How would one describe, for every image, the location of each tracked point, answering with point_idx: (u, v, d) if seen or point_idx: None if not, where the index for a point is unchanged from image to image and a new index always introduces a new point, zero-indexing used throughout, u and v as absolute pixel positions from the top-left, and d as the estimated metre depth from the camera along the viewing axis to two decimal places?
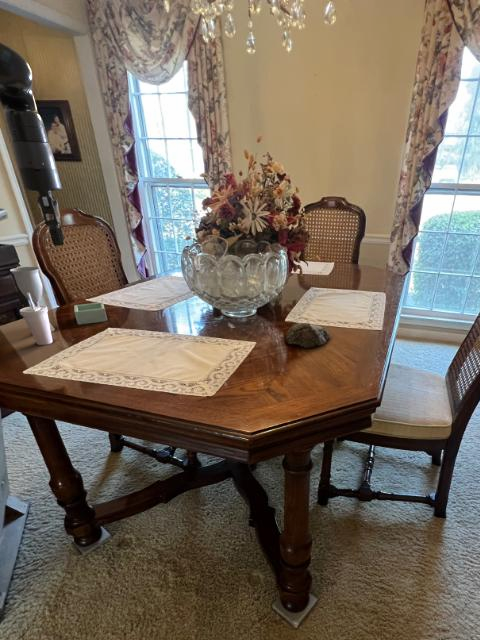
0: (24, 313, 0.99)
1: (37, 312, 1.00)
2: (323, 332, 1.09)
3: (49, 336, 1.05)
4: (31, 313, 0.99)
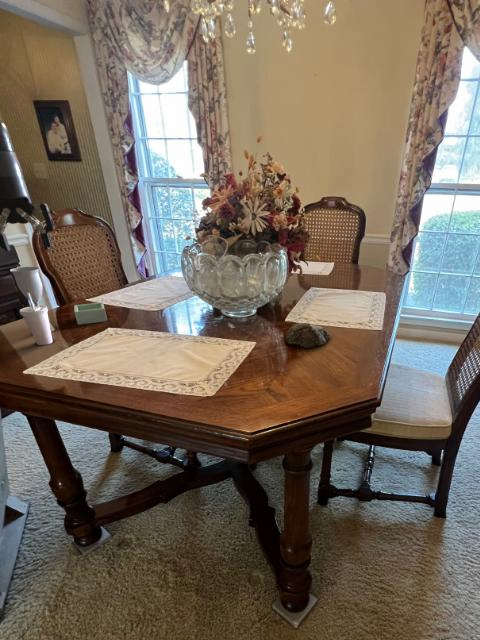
0: (24, 313, 0.99)
1: (37, 312, 1.00)
2: (323, 332, 1.09)
3: (49, 336, 1.05)
4: (31, 313, 0.99)
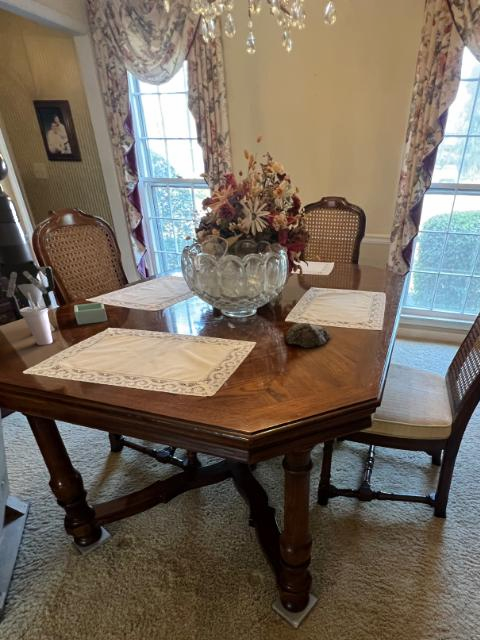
0: (24, 313, 0.99)
1: (37, 312, 1.00)
2: (323, 332, 1.09)
3: (49, 336, 1.05)
4: (31, 313, 0.99)
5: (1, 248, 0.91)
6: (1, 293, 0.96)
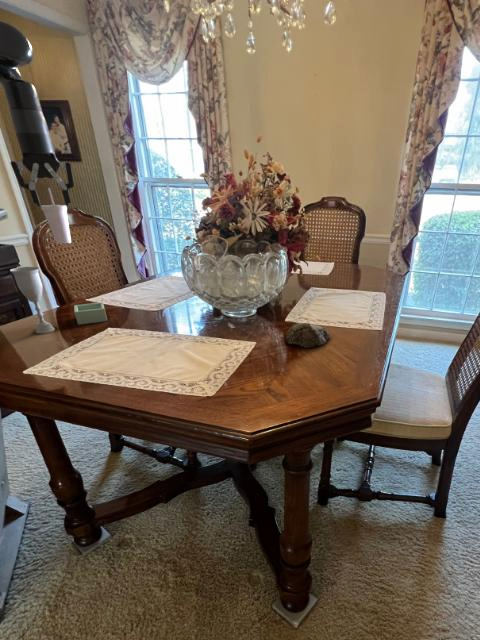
0: (45, 207, 1.03)
1: (57, 207, 1.04)
2: (323, 332, 1.09)
3: (68, 235, 1.09)
4: (52, 207, 1.03)
5: (24, 135, 0.94)
6: (23, 185, 1.00)
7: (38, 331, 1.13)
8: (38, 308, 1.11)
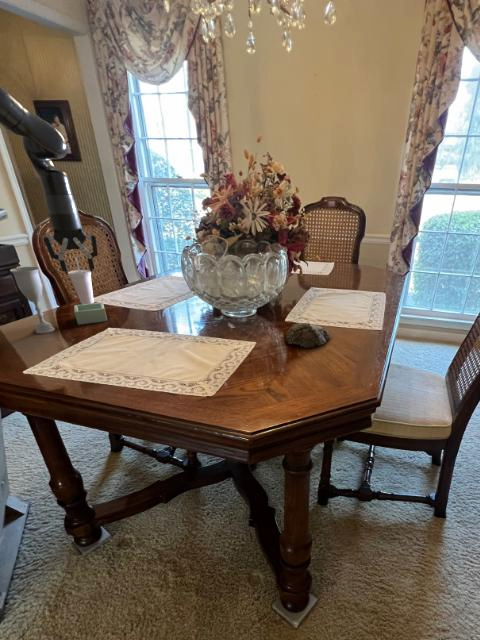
0: (72, 274, 1.15)
1: (83, 274, 1.16)
2: (323, 332, 1.09)
3: (91, 296, 1.21)
4: (78, 275, 1.15)
5: (57, 216, 1.07)
6: (54, 256, 1.12)
7: (38, 331, 1.13)
8: (38, 308, 1.11)
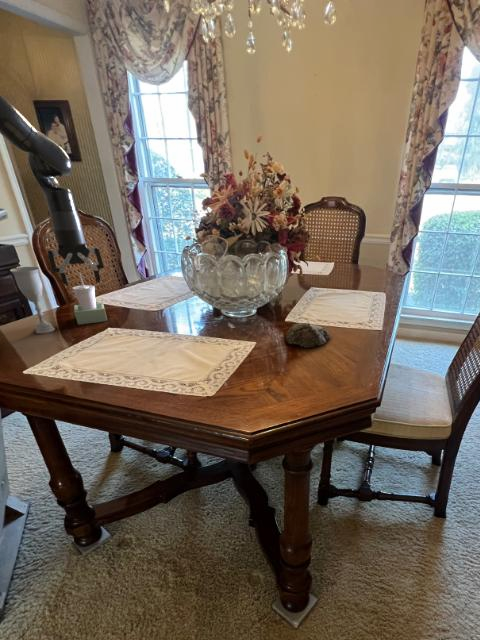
0: (76, 290, 1.17)
1: (87, 290, 1.18)
2: (323, 332, 1.09)
3: None
4: (82, 290, 1.18)
5: (61, 232, 1.09)
6: (55, 269, 1.14)
7: (38, 331, 1.13)
8: (38, 308, 1.11)
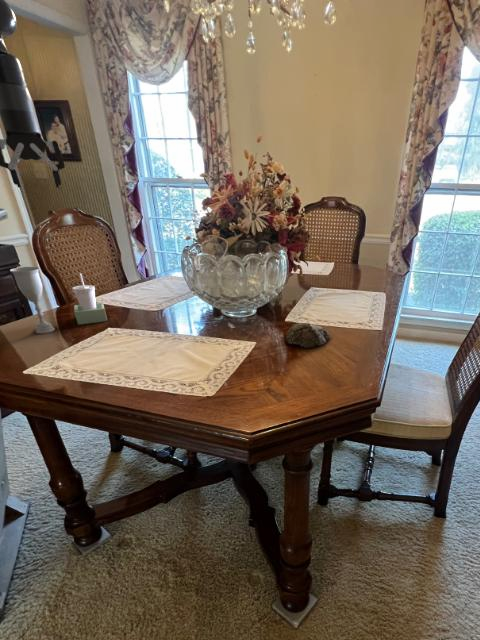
0: (76, 290, 1.17)
1: (87, 289, 1.18)
2: (323, 332, 1.09)
3: None
4: (82, 290, 1.18)
5: (8, 112, 0.88)
6: (2, 164, 0.93)
7: (38, 331, 1.13)
8: (38, 308, 1.11)
